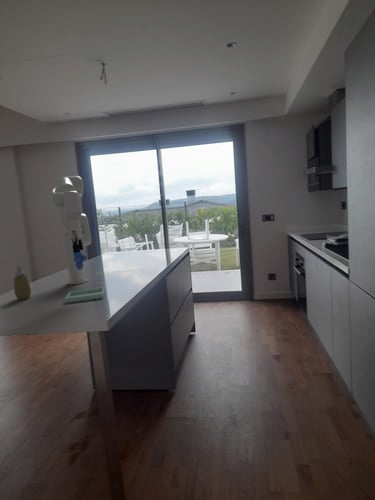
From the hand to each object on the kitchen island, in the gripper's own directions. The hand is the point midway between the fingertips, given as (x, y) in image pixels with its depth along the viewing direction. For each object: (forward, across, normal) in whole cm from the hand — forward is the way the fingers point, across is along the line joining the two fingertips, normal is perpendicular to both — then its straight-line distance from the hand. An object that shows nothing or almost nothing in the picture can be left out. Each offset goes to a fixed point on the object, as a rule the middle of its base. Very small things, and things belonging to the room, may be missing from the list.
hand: (78, 251), depth 167 cm
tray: (+24, 0, +1) cm, 24 cm away
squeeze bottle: (+24, -16, -35) cm, 45 cm away
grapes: (+10, -2, 0) cm, 10 cm away
